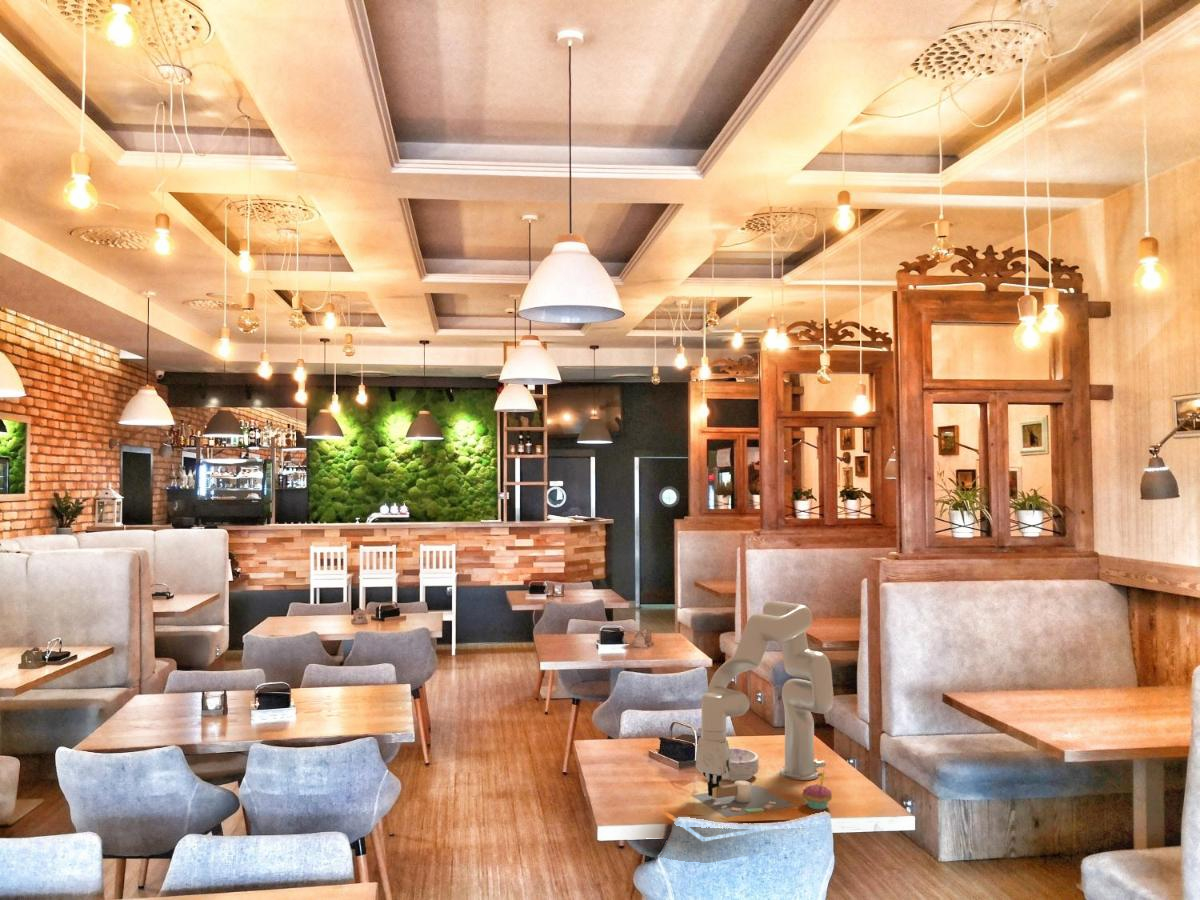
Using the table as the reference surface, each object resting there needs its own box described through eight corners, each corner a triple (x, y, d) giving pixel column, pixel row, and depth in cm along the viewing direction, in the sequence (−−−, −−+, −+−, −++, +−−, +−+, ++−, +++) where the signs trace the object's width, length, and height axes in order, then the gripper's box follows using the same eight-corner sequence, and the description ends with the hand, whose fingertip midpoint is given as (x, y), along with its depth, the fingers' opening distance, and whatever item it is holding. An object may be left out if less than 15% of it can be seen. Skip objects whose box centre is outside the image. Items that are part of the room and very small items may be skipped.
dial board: (756, 788, 295) (756, 783, 295) (795, 809, 277) (795, 804, 277) (691, 798, 285) (691, 794, 285) (726, 820, 267) (726, 816, 267)
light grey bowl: (726, 788, 295) (726, 763, 295) (703, 774, 309) (704, 750, 309) (767, 783, 300) (767, 758, 301) (743, 769, 315) (743, 745, 315)
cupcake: (827, 804, 281) (827, 764, 281) (835, 814, 272) (835, 773, 273) (799, 804, 281) (799, 764, 281) (806, 814, 272) (806, 773, 273)
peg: (744, 796, 284) (744, 779, 284) (753, 801, 280) (754, 784, 280) (708, 801, 279) (708, 785, 279) (717, 807, 274) (717, 790, 275)
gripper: (686, 732, 285) (686, 792, 284) (727, 741, 275) (727, 804, 274) (700, 727, 290) (700, 786, 290) (741, 736, 281) (740, 797, 280)
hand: (713, 795), depth 282 cm, fingers closed
